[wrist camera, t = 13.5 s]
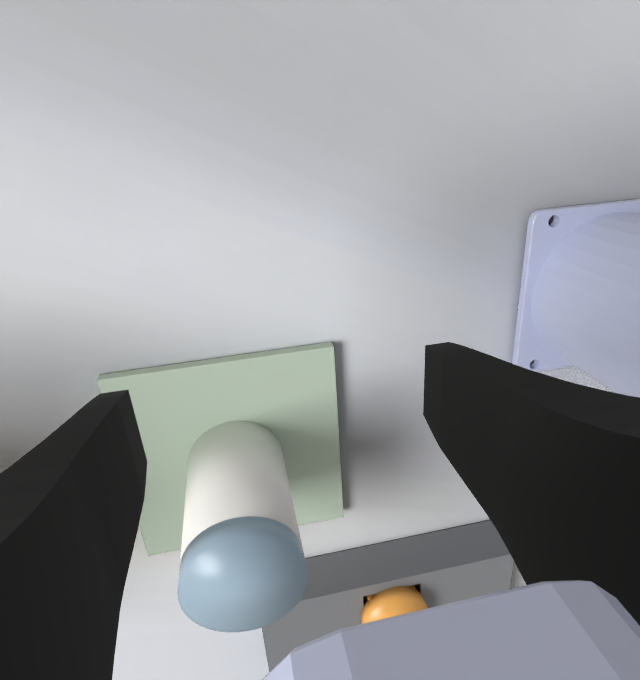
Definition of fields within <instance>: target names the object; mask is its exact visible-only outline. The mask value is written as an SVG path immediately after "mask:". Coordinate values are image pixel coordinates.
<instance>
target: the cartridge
mask: <svg viewBox="0 0 640 680" xmlns="http://www.w3.org/2000/svg"><path fill="white" fill-rule="evenodd" d="M307 582H308V572H307V567H306V562H305V558H304V553H303V548H302V543H301V538H300V533H299V529H298V524H297V519H296V514H295V509H294V505H293V500H292V495H291V490H290V485H289V480H288V476H287V471H286V466H285V461H284V456H283V452H282V447H281V445H280V442H279V441H278V439H277V437H276V436H275V435H274V434H273V433H272V432H271V431H270V430H268V429H267V428H265V427H263V426H261V425H259V424H256V423H253V422H248V421H231V422H226V423H222V424H219V425H216V426H214V427H212V428H210V429H209V430H207V431H206V432H204V433H203V434H202V435H201V436H200V437H199V438H198V439H197V440H196V441H195V443H194V444H193V446H192V448H191V450H190V453H189V458H188V469H187V482H186V495H185V507H184V520H183V532H182V545H181V558H180V570H179V583H178V600H179V604H180V606H181V608H182V610H183V611H184V613H185V614H186V615H187V616H188V617H189V618H190V619H191V620H192V621H193V622H195V623H197V624H198V625H200V626H202V627H205V628H207V629H211V630H215V631H221V632H243V631H249V630H254V629H258V628H261V627H264V626H266V625H269V624H271V623H273V622H275V621H277V620H279V619H280V618H282V617H283V616H285V615H286V614H287V613H289V612H290V611H291V610H292V609H293V608H294V607H295V606H296V605H297V604H298V603H299V601H300V600H301V598H302V597H303V595H304V593H305V590H306V587H307Z"/></svg>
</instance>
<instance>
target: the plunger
mask: <svg viewBox="0 0 640 680" xmlns="http://www.w3.org/2000/svg"><path fill="white" fill-rule="evenodd" d="M363 605H364V607H363V608H362V611H361V615H360V619H361V623H362V624H364V623H368V622H372V621H376V620H381V619H385V618H389V617H393V616H398V615H402V614H406V613H411V612H415V611H419V610H423V609H428V608H427V606H426V603H425V601H424V599H423V597H422V595H421V593H420V592H419V591H418V590H416V588H415V586H414V585H411V586H396V587H391V588H388V589H385V590H383V591H380V592H379V593H376V594H372V595H367V596H363Z"/></svg>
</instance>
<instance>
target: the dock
mask: <svg viewBox="0 0 640 680" xmlns="http://www.w3.org/2000/svg"><path fill="white" fill-rule="evenodd" d="M305 562H306V567H307V572H308V582H307V587H306V590H305V593H304V595H303V597H302V598H301V600H300V601H299V603H298V604H297V605H296V606H295V607H294V608H293V609H292V610H291V611H290V612H289V613H287V614H286V615H285V616H283V617H282V618H280V619H279V620H277V621H275V622H273V623H271V624H269V625H266V626H264V627H262V632H263V637H264V643H265V649H266V655H267V661H268V666H269V672H270V671H271V670H272V669H273V668H274V667H276V666H277V665H278V664H279V663H280V662H281V661H282V660H283V659H284V658H285V657H286V656H287V655H288V654H289V653H290V652H291V651H292V650H293V649H294V648H296V647H298V646H301V645H303V644H305V643H308V642H310V641H312V640H315V639H317V638H319V637H322V636H324V635H327V634H329V633H331V632H334V631H336V630H338V629H342V628H347V627H351V626H355V625H359V624H362V623H361V619H360V615H361V611H362V608H363V607H364V605H363V596H367V595H372V594H376V593H379V592H380V591H383V590H385V589H388V588H391V587H396V586H411V585H414V586H415V588H416V590H418V591H419V592H420V593H421V595H422V597H423V599H424V601H425V603H426V606H427V608H432V607H436V606H440V605H445V604H449V603H453V602H457V601H462V600H466V599H470V598H474V597H479V596H483V595H487V594H492V593H496V592H500V591H504V590H509V589H510V585H511V578H512V571H513V564H514V560H513V558H512V556H511V554H510V553H509V551H508V549H507V547H506V545H505V544H504V542H503V540H502V538H501V536H500V535H499V533H498V531H497V529H496V528H495V526H494V525H493V523H492V521H491V520H488V521H483V522H478V523H474V524H469V525H464V526H459V527H454V528H450V529H445V530H440V531H435V532H431V533H426V534H421V535H416V536H412V537H407V538H402V539H397V540H392V541H388V542H383V543H378V544H373V545H369V546H364V547H359V548H354V549H350V550H345V551H340V552H335V553H331V554H326V555H321V556H316V557H311V558H307V559H305Z"/></svg>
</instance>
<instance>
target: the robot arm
mask: <svg viewBox="0 0 640 680" xmlns="http://www.w3.org/2000/svg"><path fill="white" fill-rule="evenodd" d="M551 216H553V217H554V220H553V222H552V223H551V224H550V225H549V224H548V221H549V219H550V217H551ZM533 360H534V363H533V364H532V365H530V363H531V362H532V361H533ZM572 366H575V367H577V368H578V369H580V370H581V371H583V372H584V373H586V374H587V375H589V376H590V377H592V378H593V379H595V380H596V381H598V382H599V383H601V384H602V385H604V386H605V387H607V388H608V389H610V390H611V391H613V392H614V393H613V392H608V391H603V390H599V389H595V388H591V387H587V386H583V385H578V384H575V383H571V382H567V381H564V380H560V379H557V378H554V377H551V376H547V375H544V374H541V373H538V372H541V371H547V370H553V369H560V368H566V367H572ZM423 415H424V417H425V419H426V421H427V423H428V425H429V427H430V429H431V431H432V433H433V435H434V437H435V439H436V441H437V443H438V445H439V447H440V448H441V450H442V451H443V452H444V454H445V455H446V457H447V458H448V460H449V461H450V463H451V464H452V466H453V467H454V468H455V470H456V471H457V473H458V474H459V475H460V477H461V478H462V480H463V481H464V483H465V484H466V485H467V487H468V488H469V490H470V491H471V492H472V494H473V495H474V497H475V498H476V499H477V501H478V502H479V504H480V505H481V507H482V508H483V509H484V511H485V512H486V514H487V515H488V517H489V518H490V520H491V521H492V523H493V525H494V526H495V528H496V529H497V531H498V533H499V535H500V536H501V538H502V540H503V542H504V544H505V545H506V547H507V549H508V551H509V553H510V554H511V556H512V558H513V560H514V562H515V563H516V565H517V567H518V569H519V571H520V573H521V575H522V577H523V579H524V581H525V582H526V584H527V585H526V586H521V587H517V588H513V589H509V590H504V591H500V592H496V593H492V594H487V595H483V596H479V597H474V598H470V599H466V600H462V601H457V602H453V603H449V604H445V605H440V606H436V607H432V608H428V609H423V610H419V611H415V612H411V613H406V614H402V615H398V616H393V617H389V618H385V619H381V620H376V621H372V622H368V623H364V624H359V625H355V626H351V627H347V628H342V629H338V630H336V631H334V632H331V633H329V634H327V635H324V636H322V637H319V638H317V639H315V640H312V641H310V642H308V643H305V644H303V645H301V646H298V647H296V648H294V649H293V650H292V651H291V652H290V653H289V654H288V655H287V656H286V657H285V658H284V659H283V660H282V661H281V662H280V663H279V664H278V665H277V666H276V667H274V668H273V669H272V670H271V671H270V672H269V673H268V674H267V675H266V676H265V677H264V678H263V679H262V680H640V199H632V200H623V201H613V202H604V203H595V204H585V205H576V206H567V207H557V208H548V209H539V210H536V211H535V212H534V213H532V215H531V216H530V218H529V221H528V228H527V236H526V245H525V254H524V263H523V271H522V280H521V289H520V298H519V306H518V315H517V324H516V333H515V341H514V350H513V359H512V363H509V362H506V361H503V360H501V359H498V358H495V357H493V356H490V355H487V354H485V353H482V352H479V351H476V350H474V349H471V348H468V347H465V346H462V345H458V344H454V343H450V342H446V343H439V344H433V345H426V346H425V379H424V413H423ZM146 474H147V458H146V455H145V451H144V447H143V443H142V439H141V436H140V432H139V428H138V424H137V420H136V417H135V413H134V409H133V405H132V402H131V398H130V394H129V390H121V391H115V392H108V393H101V394H99V395H98V396H96V397H95V398H94V399H92V400H91V401H90V402H89V403H87V404H86V405H85V406H84V407H83V408H81V409H80V410H79V411H78V412H77V413H75V414H74V415H73V416H72V417H71V418H70V419H69V420H67V421H66V422H65V423H64V424H63V425H61V426H60V427H59V428H58V429H57V430H56V431H54V432H53V433H52V434H51V435H50V436H48V437H47V438H46V439H45V440H44V441H42V442H41V443H40V444H39V445H37V446H36V447H35V448H33V449H32V450H31V451H30V452H28V453H27V454H26V455H24V456H23V457H22V458H21V459H19V460H18V461H17V462H15V463H14V464H13V465H12V466H10V467H9V468H8V469H6V470H5V471H3V472H2V473H1V474H0V680H112V673H113V664H114V654H115V646H116V638H117V629H118V621H119V613H120V607H121V601H122V596H123V590H124V586H125V581H126V577H127V573H128V568H129V564H130V560H131V556H132V551H133V547H134V543H135V539H136V534H137V530H138V525H139V521H140V517H141V512H142V508H143V503H144V497H145V486H146Z"/></svg>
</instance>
